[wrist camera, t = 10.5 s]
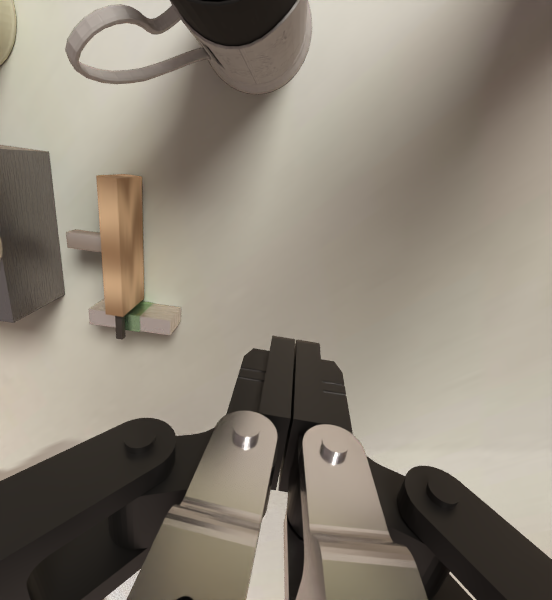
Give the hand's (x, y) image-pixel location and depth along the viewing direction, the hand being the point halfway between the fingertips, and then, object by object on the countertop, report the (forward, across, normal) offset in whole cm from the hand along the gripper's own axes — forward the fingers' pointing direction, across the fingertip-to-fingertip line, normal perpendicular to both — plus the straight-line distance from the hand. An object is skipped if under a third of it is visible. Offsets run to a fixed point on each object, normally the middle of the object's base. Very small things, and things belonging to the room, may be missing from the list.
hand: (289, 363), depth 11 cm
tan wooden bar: (+22, +18, +5) cm, 29 cm away
